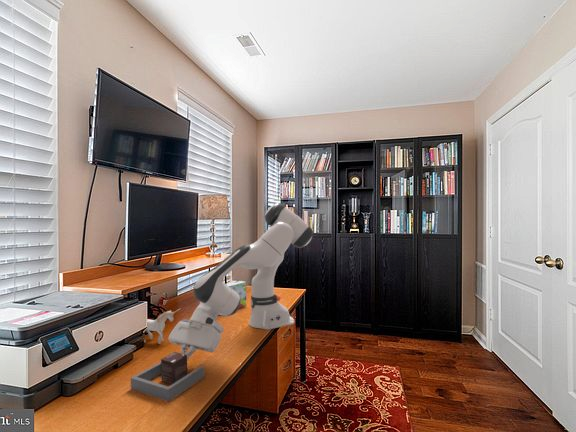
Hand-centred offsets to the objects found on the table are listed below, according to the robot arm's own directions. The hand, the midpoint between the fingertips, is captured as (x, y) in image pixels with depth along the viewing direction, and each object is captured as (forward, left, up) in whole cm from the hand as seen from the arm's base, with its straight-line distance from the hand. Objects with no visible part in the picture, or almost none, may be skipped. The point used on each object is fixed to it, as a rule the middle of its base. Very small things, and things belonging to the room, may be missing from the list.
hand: (182, 359), depth 106 cm
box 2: (+4, +4, -5) cm, 8 cm away
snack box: (-26, -68, -5) cm, 73 cm away
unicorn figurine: (+10, -36, -5) cm, 38 cm away
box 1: (+3, +2, -5) cm, 6 cm away
